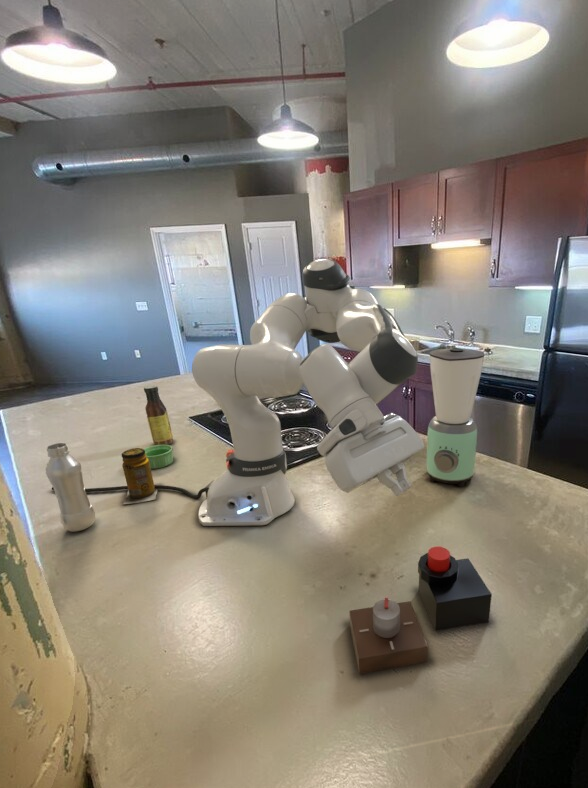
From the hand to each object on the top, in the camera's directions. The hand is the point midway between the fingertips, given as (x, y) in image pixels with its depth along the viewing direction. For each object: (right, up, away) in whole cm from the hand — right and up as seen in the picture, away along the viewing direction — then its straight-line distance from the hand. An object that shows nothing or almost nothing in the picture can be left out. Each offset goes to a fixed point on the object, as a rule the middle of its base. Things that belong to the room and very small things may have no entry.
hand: (404, 491), depth 70 cm
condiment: (-65, -6, +38) cm, 76 cm away
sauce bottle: (-76, +6, +71) cm, 104 cm away
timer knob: (-3, -19, -8) cm, 21 cm away
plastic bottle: (-72, -12, +25) cm, 77 cm away
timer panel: (-3, -22, -7) cm, 23 cm away
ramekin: (-70, 0, +56) cm, 90 cm away
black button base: (+8, -19, 0) cm, 21 cm away
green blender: (+17, -2, +45) cm, 48 cm away
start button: (+6, -12, -1) cm, 13 cm away
